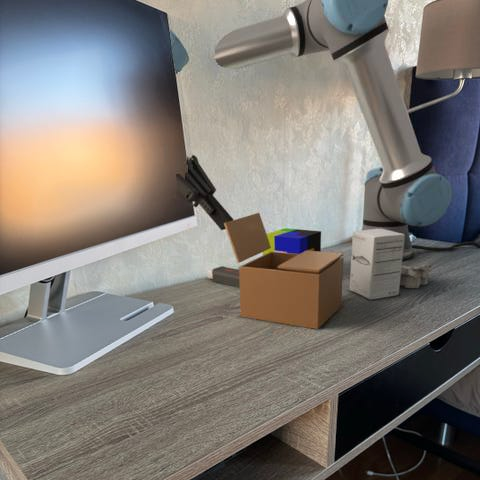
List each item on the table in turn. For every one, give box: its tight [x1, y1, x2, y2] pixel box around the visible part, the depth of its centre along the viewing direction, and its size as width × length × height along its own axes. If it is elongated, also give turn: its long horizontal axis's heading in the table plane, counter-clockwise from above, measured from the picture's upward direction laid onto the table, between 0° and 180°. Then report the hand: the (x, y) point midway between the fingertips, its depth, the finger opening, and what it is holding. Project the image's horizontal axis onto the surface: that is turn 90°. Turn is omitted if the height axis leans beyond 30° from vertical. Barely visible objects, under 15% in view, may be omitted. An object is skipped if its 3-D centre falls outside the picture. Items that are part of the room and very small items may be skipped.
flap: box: [224, 212, 271, 264], centre depth 83 cm, size 7×13×1 cm
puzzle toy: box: [262, 227, 322, 256], centre depth 106 cm, size 10×10×10 cm
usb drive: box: [206, 265, 240, 289], centre depth 104 cm, size 5×12×3 cm, turn 48°
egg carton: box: [399, 264, 432, 289], centre depth 98 cm, size 11×8×4 cm
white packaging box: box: [349, 229, 405, 301], centre depth 90 cm, size 7×7×13 cm
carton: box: [238, 251, 345, 330], centre depth 82 cm, size 15×13×10 cm
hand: (227, 224), depth 85 cm, fingers closed
